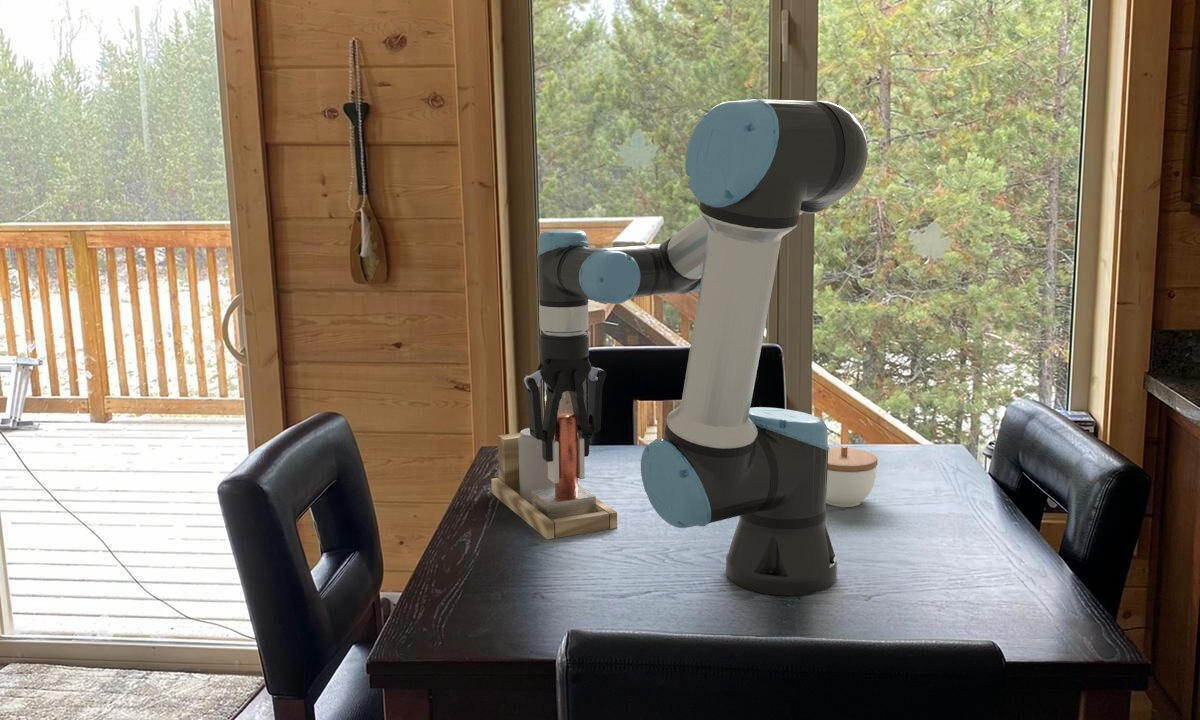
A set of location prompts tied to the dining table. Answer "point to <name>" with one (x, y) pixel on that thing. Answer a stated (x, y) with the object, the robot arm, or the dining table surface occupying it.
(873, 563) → the dining table surface
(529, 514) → the press frame
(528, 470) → the beverage can
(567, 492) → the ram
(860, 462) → the lidded jar
